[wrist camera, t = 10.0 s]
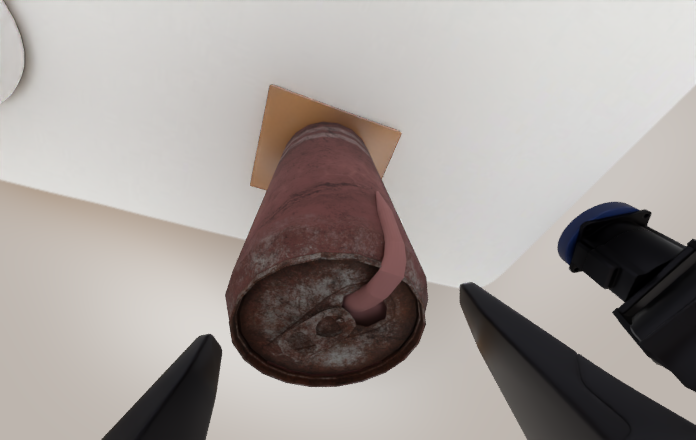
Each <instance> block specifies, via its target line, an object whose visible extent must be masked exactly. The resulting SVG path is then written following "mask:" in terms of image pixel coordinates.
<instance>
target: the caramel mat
mask: <svg viewBox="0 0 696 440" xmlns="http://www.w3.org/2000/svg"><path fill="white" fill-rule="evenodd" d="M319 122H331V123H339V124H341V125H343V126H345V127H347V128H350V129H352V130H353V131H354V132H355V133H356V134H357V135H358V136H359V137H360V138H361V139H362V140H363V142H364V144H365V146H366V147H367V149H368V151H369V153H370V155H371V158H372V160H373V162H374V164H375V166H376V169H377V171H378V173H379V175H380V177H381V179H382V177H383V175H384V173H385V170H386V168H387V166H388V164H389V161H390V159H391V157H392V154H393V152H394V150H395V148H396V145H397V143H398V141H399V139H400V136H401V134H402V133H401V132H400V131H398V130H395V129H393V128H390V127H387V126H384V125H382V124H379V123H376V122H374V121H371V120H368V119H365V118H363V117H360V116H357V115H354V114H352V113H349V112H346V111H344V110H341V109H338V108H335V107H333V106H330V105H327V104H325V103H322V102H319V101H316V100H314V99H311V98H308V97H306V96H303V95H300V94H297V93H295V92H292V91H289V90H286V89H284V88H281V87H278V86H276V85H273V84H271V85H270V87H269V92H268V97H267V102H266V107H265V112H264V117H263V122H262V127H261V132H260V137H259V142H258V147H257V152H256V157H255V162H254V168H253V173H252V178H251V183H250V186H253V187H257V188H261V189H264V190H267V189H268V187H269V184H270V182H271V180H272V177H273V175H274V173H275V170H276V168H277V166H278V163H279V161H280V158H281V156H282V154H283V151H284V149H285V147H286V144H287V143H288V142H289V140H290V139H291V138H292V137H293V135H294V134H295V133H296V132H298V131H299V130H301V129H303V128H304V127H306V126H307V125H310V124H315V123H319Z"/></svg>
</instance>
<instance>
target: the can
mask: <svg viewBox="0 0 696 440" xmlns="http://www.w3.org/2000/svg"><path fill="white" fill-rule="evenodd" d="M225 297H226V302H227V310H228V316H229V326H230V332H231V338H232V343H233V345H234V346H235V347H236V349H237V350H238V352H239V353H240V355H241V356H242V358H243V359H244V360H245V361H246V362H247V363H249V364H250V365H251V366H253V367H254V368H256V369H257V370H258V371H260V372H261V373H263V374H265V375H267V376H270V377H272V378H275V379H278V380H280V381H283V382H285V383H290V384H296V385H303V386H308V387H337V386H343V385H348V384H353V383H358V382H363V381H365V380H368V379H370V378H373V377H376V376H378V375H381V374H383V373H386V372H387V371H388V370H390V369H392V368H393V367H395V366H396V365H398V364H399V363H401V362H402V361H404V360H405V359H406V358H407V356H408V355H409V354H410V353H411V352H412V351H413V350H414V348H415V347H416V346H417V345H418V343H419V341H420V339H421V336H422V333H423V331H424V328H425V325H426V321H425V310H426V306H427V302H428V293H427V281H426V276H425V274H424V272H423V269H422V267H421V265H420V263H419V261H418V258H417V256H416V254H415V252H414V250H413V247H412V245H411V243H410V241H409V239H408V236H407V234H406V232H405V230H404V228H403V226H402V223H401V221H400V219H399V217H398V215H397V212H396V210H395V208H394V206H393V204H392V201H391V199H390V197H389V195H388V193H387V190H386V188H385V186H384V184H383V182H382V179H381V177H380V175H379V173H378V171H377V169H376V166H375V164H374V162H373V160H372V158H371V155H370V153H369V151H368V149H367V147H366V146H365V144H364V142H363V140H362V139H361V138H360V137H359V136H358V135H357V134H356V133H355V132H354V131H353V130H352V129H350V128H347V127H345V126H343V125H341V124H339V123H331V122H319V123H315V124H310V125H307V126H306V127H304V128H303V129H301V130H299V131H298V132H296V133H295V134H294V135H293V137H292V138H291V139H290V140H289V142H288V143H287V144H286V147H285V149H284V151H283V154H282V156H281V158H280V161H279V163H278V166H277V168H276V170H275V173H274V175H273V177H272V180H271V182H270V184H269V187H268V189H267V191H266V194H265V196H264V199H263V201H262V203H261V206H260V208H259V210H258V213H257V215H256V217H255V220H254V222H253V225H252V227H251V229H250V232H249V234H248V236H247V239H246V241H245V243H244V246H243V248H242V251H241V253H240V255H239V258H238V260H237V262H236V265H235V267H234V269H233V272H232V275H231V278H230V281H229V285H228V288H227V291H226V294H225Z"/></svg>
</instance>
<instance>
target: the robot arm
mask: <svg viewBox="0 0 696 440" xmlns="http://www.w3.org/2000/svg"><path fill="white" fill-rule="evenodd" d="M651 214H652V213H651V212H650V211H648V210H646V209H644V210H639V211H634V212H629V213H624V214H620V215H615V216H610V217H605V218H601V219H596V220H591V221H586V222H584V223H582V225H581V226H580V229H579V233H578V237H577V240H576V244H575V248H574V251H573V255H572V258H571V262H570V266H569V270H570V271H571V272H572V273H577V272H582V271H583V272H585V273H586V274H587V275H588V276H589V277H591V278H592V279H593V280H594V281H595V282H597V283H598V284H599V285H600V286H601V287H603V288H604V289H609V290H611V291H612V292H613V293H614V294H616V295H617V296H618V297H619V298H620V299H622V300H623V301H624V302H625V303H624V304H623V305H621V306H620V307H619V308H616V309H615V310H614V311H613V312H612V313H613V314H614V315H615V316H616V318H617V319H618V321H619V322H620V323H621V325H622V326H623V327H624V328H625V329H626V331H627V332H628V333H629V334H630V335H631V337H632V338H633V339H634V340H635V342H636V343H637V344H638V345H639V346H640V348H641V349H642V350H643V351H644V352H645V354H646V355H647V356H648V357H650V358H651V359H652V360H653V361H654V362H655V363H656V364H658V365H660V366H663V367H665V368H666V369H668V370H670V371H671V372H672V373H673V374H674V375H675V376H676V377H677V378H678V379H679V381H681V383H682V384H683V385H684V386H685V387H687V388H689V389H691V390H693V391H695V392H696V240H695V239H692V240H691V241H690V242H689V243H687V246H684V245H682V244H680V243H678V242H676V241H675V240H673V239H671V238H669V237H667V236H665V235H663V234H661V233H660V232H658V231H656V230H654V229H652V228H650V227H648V226H647V224H648V221H649V219H650V217H651ZM460 305H461V308H462V310H463V313H464V315H465V317H466V320H467V322H468V325H469V327H470V329H471V332H472V335H473V337H474V339H475V342H476V344H477V347H478V349H479V351H480V353H481V355H482V357H483V358H484V360H485V362H486V364H487V366H488V368H489V370H490V371H491V373H492V375H493V377H494V379H495V381H496V383H497V384H498V386H499V388H500V390H501V392H502V394H503V395H504V397H505V399H506V401H507V403H508V405H509V407H510V408H511V410H512V412H513V414H514V416H515V418H516V419H517V421H518V423H519V425H520V427H521V429H522V430H523V432H524V434H525V436H526V438H527V440H696V425H694V424H693V423H691V422H689V421H688V420H686V419H684V418H682V417H681V416H679V415H677V414H676V413H674V412H672V411H671V410H669V409H667V408H665V407H664V406H662V405H660V404H659V403H657V402H655V401H653V400H652V399H650V398H648V397H647V396H645V395H643V394H641V393H640V392H638V391H636V390H634V389H633V388H631V387H630V386H628V385H626V384H625V383H623V382H621V381H620V380H618V379H616V378H615V377H613V376H612V375H610V374H609V373H607V372H606V371H604V370H603V369H601V368H600V367H598V366H596V365H595V364H593V363H592V362H590V361H589V360H587V359H586V358H584V357H583V356H582V355H580V354H577V353H576V352H575V351H574V350H572V349H571V348H569V347H568V346H567V345H565V344H564V343H562V342H561V341H559V340H558V339H556V338H554V337H553V336H552V335H550V334H549V333H547V332H546V331H544V330H543V329H541V328H540V327H538V326H537V325H535V324H534V323H532V322H531V321H529V320H528V319H527V318H525V317H523V316H522V315H520V314H519V313H518V312H516V311H515V310H513V309H512V308H510V307H509V306H507V305H506V304H504V303H503V302H501V301H500V300H498V299H497V298H495V297H494V296H492V295H491V294H489V293H488V292H486V291H485V290H483V289H482V288H481V287H479V286H478V285H476V284H475V283H473V282H469V283H464V284H461V285H460ZM221 357H222V349H221V346H220V345H219V343H218V342H217V341H216V339H215V338H214V337H213V335H211V334H206V335H201V336H199V337H198V338H196V340H195V341H194V342H193V343H192V344H191V345H190V346H189V347H188V348H187V349H186V350H185V352H183V353H182V354H181V355H180V357H179V358H178V359H177V360H176V361H175V362H174V363H173V364H172V365H171V366H170V367H169V368H168V369H167V370H166V371H165V372H164V374H163V375H162V376H161V377H160V378H159V379H158V380H157V381H156V382H155V383H154V384H153V385H152V387H151V388H149V389H148V391H147V392H146V393H145V394H144V395H143V396H142V397H141V398H140V399H139V400H138V401H137V402H136V403H135V404H134V405H133V407H132V408H131V409H130V410H129V411H128V412H127V413H126V414H125V415H124V416H123V417H122V418H121V419H120V420H119V422H118V423H117V424H116V425H115V426H114V427H113V428H112V429H111V430H110V431H109V432H108V433H107V434H106V435H105V436H104V438H102V440H206V436H207V431H208V427H209V423H210V419H211V415H212V411H213V407H214V402H215V397H216V392H217V385H218V378H219V371H220V363H221Z"/></svg>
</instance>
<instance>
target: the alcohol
mask: <svg viewBox="0 0 696 440" xmlns="http://www.w3.org/2000/svg"><path fill="white" fill-rule="evenodd" d="M23 69H24V48H23V43H22V39H21V35H20V33H19V30H18V28H17V25H16V23H15V20H14V18H13V17H12V15H11V13H10V12H9V10H8V8H7V6H6V5H5V3H4V1H3V0H0V103H2V102H3V101H4V100H6V99H7V98H8V97H10V96H11V94H12V93H13V91H14V90H15V88H16V87H17V85H18V83H19V81H20V79H21V76H22V73H23Z"/></svg>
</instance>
